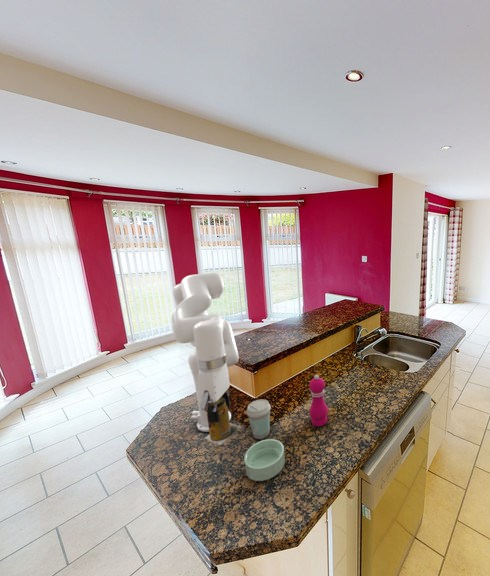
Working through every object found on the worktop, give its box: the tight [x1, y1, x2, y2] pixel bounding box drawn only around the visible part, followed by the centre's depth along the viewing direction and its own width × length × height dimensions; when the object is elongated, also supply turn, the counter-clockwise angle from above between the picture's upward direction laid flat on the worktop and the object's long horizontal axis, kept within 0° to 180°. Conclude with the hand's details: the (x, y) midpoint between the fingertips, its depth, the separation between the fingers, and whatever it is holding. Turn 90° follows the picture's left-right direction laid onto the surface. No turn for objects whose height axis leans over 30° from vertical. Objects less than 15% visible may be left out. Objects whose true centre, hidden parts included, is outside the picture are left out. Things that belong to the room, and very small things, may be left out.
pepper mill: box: [308, 374, 329, 427], centre depth 110 cm, size 7×7×20 cm
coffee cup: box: [246, 399, 272, 440], centre depth 105 cm, size 8×8×12 cm
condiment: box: [204, 397, 242, 445], centre depth 89 cm, size 7×8×12 cm
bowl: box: [243, 438, 286, 482], centre depth 91 cm, size 12×12×5 cm
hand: (219, 414), depth 88 cm, fingers closed on condiment, 6 cm apart
